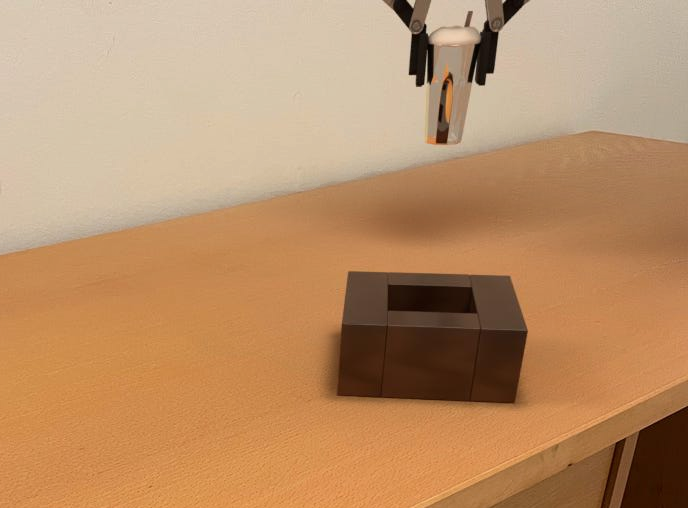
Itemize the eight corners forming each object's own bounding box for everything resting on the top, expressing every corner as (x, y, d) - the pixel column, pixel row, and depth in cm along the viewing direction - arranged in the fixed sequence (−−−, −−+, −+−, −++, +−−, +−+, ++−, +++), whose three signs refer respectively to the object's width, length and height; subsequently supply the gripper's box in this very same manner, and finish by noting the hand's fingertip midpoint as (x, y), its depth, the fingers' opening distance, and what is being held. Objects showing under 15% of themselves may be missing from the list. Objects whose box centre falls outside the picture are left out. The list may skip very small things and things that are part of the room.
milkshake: (478, 139, 90) (495, 11, 84) (456, 148, 87) (472, 15, 81) (433, 135, 92) (446, 10, 86) (409, 144, 89) (421, 14, 83)
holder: (499, 341, 75) (510, 275, 72) (515, 403, 66) (528, 329, 63) (343, 335, 77) (348, 270, 74) (336, 395, 67) (341, 323, 64)
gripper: (365, -180, 74) (352, 91, 85) (596, -193, 72) (553, 88, 83) (367, -172, 80) (355, 81, 91) (580, -184, 78) (542, 77, 89)
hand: (449, 81), depth 87 cm, fingers closed on milkshake, 4 cm apart
